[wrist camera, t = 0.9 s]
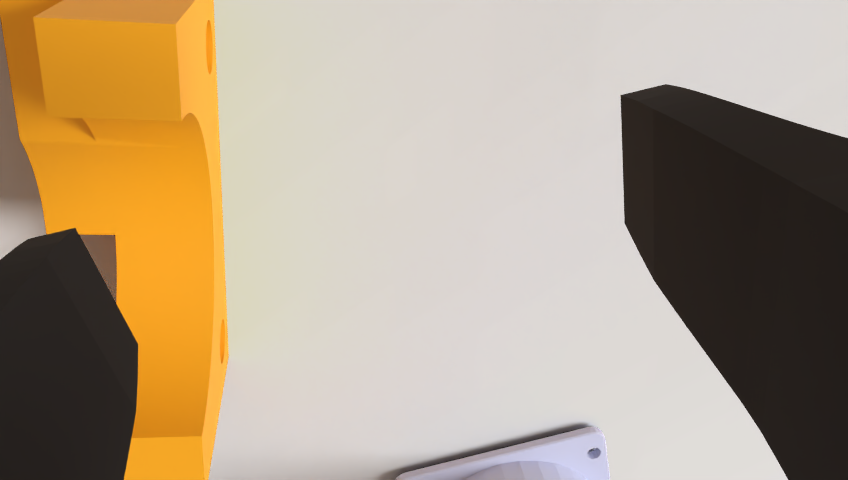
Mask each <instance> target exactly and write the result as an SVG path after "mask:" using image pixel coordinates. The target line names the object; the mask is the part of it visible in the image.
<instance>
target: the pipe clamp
mask: <svg viewBox="0 0 848 480" xmlns="http://www.w3.org/2000/svg"><path fill="white" fill-rule="evenodd" d="M0 18H1V24H2V31H3V37H4V43H5V49H6V56H7V62H8V68H9V75H10V81H11V87H12V94H13V100H14V106H15V113H16V119H17V125H18V132H19V138H20V141H21V143H22V144H23V146H24V149H25V151H26V153H27V155H28V158H29V160H30V163H31V166H32V168H33V171H34V175H35V178H36V181H37V185H38V189H39V193H40V197H41V202H42V208H43V213H44V220H45V227H46V234H51V233H55V232H60V231H64V230H68V229H72V228H76V230H77V232H78V234H79V235H115V239H116V259H117V297H116V304H117V306H118V308H119V310H120V311H121V313H122V315H123V317H124V319H125V321H126V323H127V324H128V326H129V328H130V330H131V332H132V334H133V336H134V337H135V339H136V341H137V343H138V386H137V405H136V415H135V421H134V427H133V433H132V438H131V443H130V449H129V454H128V460H127V465H126V470H125V476H124V480H208V477H209V471H210V465H211V459H212V453H213V447H214V441H215V435H216V429H217V423H218V417H219V411H220V405H221V399H222V393H223V387H224V381H225V375H226V369H227V363H228V357H229V356H228V333H227V309H226V286H225V262H224V238H223V215H222V191H221V167H220V144H219V120H218V97H217V73H216V49H215V26H214V2H213V0H0Z"/></svg>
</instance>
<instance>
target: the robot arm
mask: <svg viewBox="0 0 848 480" xmlns="http://www.w3.org/2000/svg"><path fill="white" fill-rule="evenodd" d="M621 117H622V150H623V182H624V214H625V225H626V227H627V229H628V231H629V233H630V235H631V237H632V239H633V241H634V243H635V245H636V247H637V249H638V251H639V253H640V255H641V257H642V259H643V261H644V262H645V264H646V266H647V268H648V270H649V272H650V274H651V275H652V277H653V279H654V281H655V282H656V284H657V285H658V287H659V288H660V290H661V291H662V292H663V294H664V295H665V297H666V298H667V300H668V301H669V302H670V304H671V305H672V307H673V308H674V309H675V311H676V312H677V314H678V315H679V316H680V318H681V319H682V321H683V322H684V323H685V325H686V326H687V328H688V329H689V330H690V332H691V333H692V334H693V336H694V337H695V339H696V340H697V341H698V343H699V344H700V345H701V347H702V348H703V350H704V351H705V352H706V354H707V355H708V357H709V358H710V359H711V361H712V362H713V363H714V365H715V366H716V368H717V369H718V370H719V372H720V373H721V374H722V376H723V377H724V379H725V380H726V381H727V383H728V384H729V385H730V387H731V388H732V390H733V391H734V392H735V394H736V395H737V397H738V398H739V399H740V401H741V402H742V403H743V405H744V406H745V408H746V410H747V411H748V413H749V414H750V416H751V417H752V419H753V420H754V422H755V423H756V425H757V426H758V428H759V429H760V431H761V432H762V434H763V436H764V438H765V439H766V441H767V443H768V445H769V446H770V448H771V450H772V452H773V453H774V455H775V457H776V459H777V460H778V462H779V464H780V466H781V467H782V469H783V471H784V473H785V474H786V476H787V478H788V480H848V138H845V137H841V136H838V135H834V134H831V133H827V132H824V131H821V130H817V129H814V128H810V127H807V126H804V125H801V124H797V123H794V122H791V121H788V120H785V119H781V118H778V117H775V116H772V115H769V114H766V113H763V112H760V111H756V110H753V109H750V108H747V107H744V106H741V105H738V104H735V103H732V102H729V101H726V100H723V99H719V98H716V97H713V96H710V95H707V94H703V93H700V92H697V91H693V90H689V89H686V88H682V87H677V86H672V85H667V84H665V85H661V86H657V87H653V88H649V89H645V90H640V91H636V92H632V93H628V94H624V95H621ZM137 386H138V343H137V341H136V339H135V337H134V336H133V334H132V332H131V330H130V328H129V326H128V324H127V323H126V321H125V319H124V317H123V315H122V313H121V311H120V310H119V308H118V306H117V304H116V302H115V300H114V299H113V297H112V295H111V293H110V291H109V289H108V287H107V286H106V284H105V282H104V280H103V278H102V276H101V274H100V273H99V271H98V269H97V267H96V265H95V263H94V261H93V260H92V258H91V256H90V254H89V252H88V250H87V248H86V247H85V245H84V243H83V241H82V239H81V237H80V235H79V234H78V232H77V230H76V228H72V229H68V230H64V231H60V232H55V233H51V234H47V235H43V236H39V237H35V238H31V239H28V240H26V241H25V242H23V243H22V244H20V245H19V246H17V247H16V248H15V249H13V250H12V251H11V252H10V253H8V254H7V255H6V256H5V257H3V258H2V259H1V260H0V480H124V476H125V470H126V465H127V460H128V454H129V449H130V443H131V438H132V433H133V427H134V421H135V415H136V405H137ZM592 448H596V449H595V450H594V451H591V452H588V451H589V450H590V449H592ZM395 480H610V473H609V465H608V456H607V448H606V440H605V437H604V435H603V433H602V431H601V430H600V429H599V428H598V427H594V426H593V427H586V428H582V429H578V430H574V431H570V432H566V433H562V434H558V435H554V436H550V437H546V438H542V439H538V440H534V441H530V442H526V443H522V444H518V445H514V446H510V447H506V448H502V449H498V450H494V451H490V452H486V453H482V454H478V455H474V456H469V457H465V458H461V459H457V460H453V461H449V462H445V463H441V464H437V465H433V466H429V467H425V468H421V469H417V470H413V471H409V472H405V473H403V474H400V475H399V476H398V477H397V478H396V479H395Z"/></svg>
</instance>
